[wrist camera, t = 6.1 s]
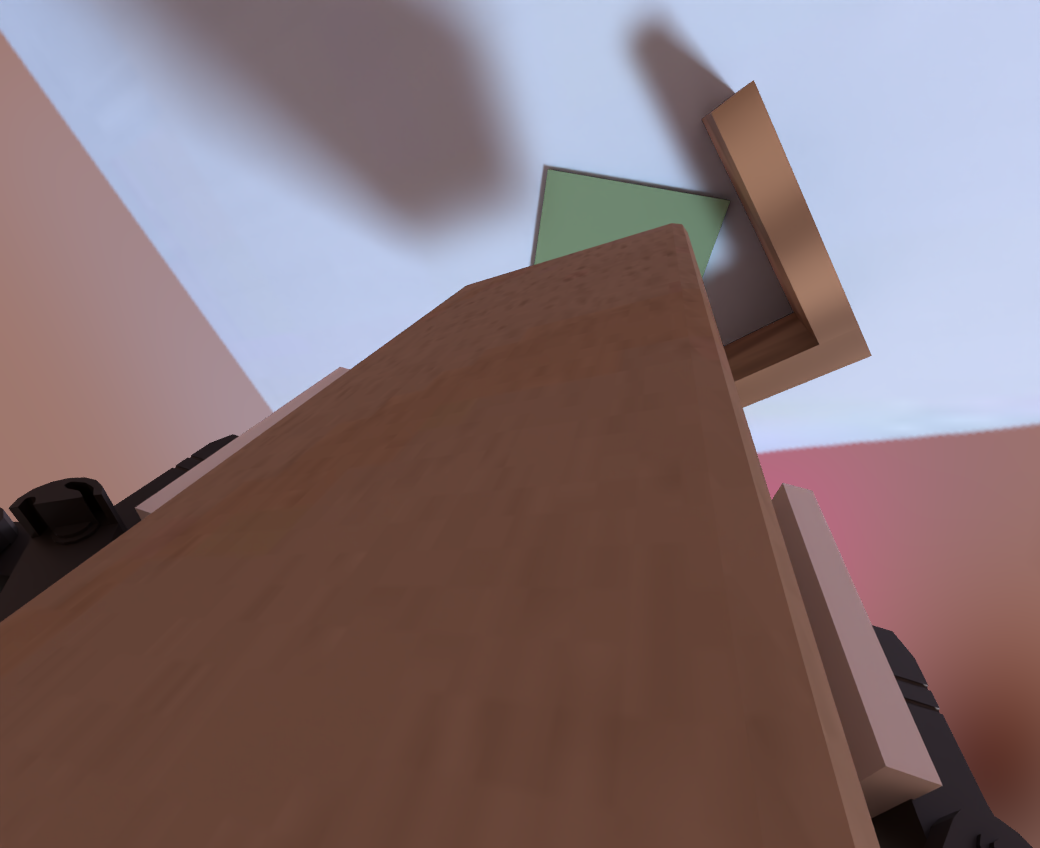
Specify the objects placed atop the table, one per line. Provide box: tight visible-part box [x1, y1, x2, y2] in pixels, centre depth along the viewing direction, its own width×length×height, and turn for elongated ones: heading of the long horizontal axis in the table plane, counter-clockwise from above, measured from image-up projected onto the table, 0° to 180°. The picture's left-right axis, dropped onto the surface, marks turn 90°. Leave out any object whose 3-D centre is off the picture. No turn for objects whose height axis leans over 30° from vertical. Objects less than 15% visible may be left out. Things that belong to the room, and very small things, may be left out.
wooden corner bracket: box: [702, 80, 871, 408], centre depth 30 cm, size 16×20×6 cm
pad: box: [534, 169, 730, 277], centre depth 32 cm, size 12×12×1 cm
